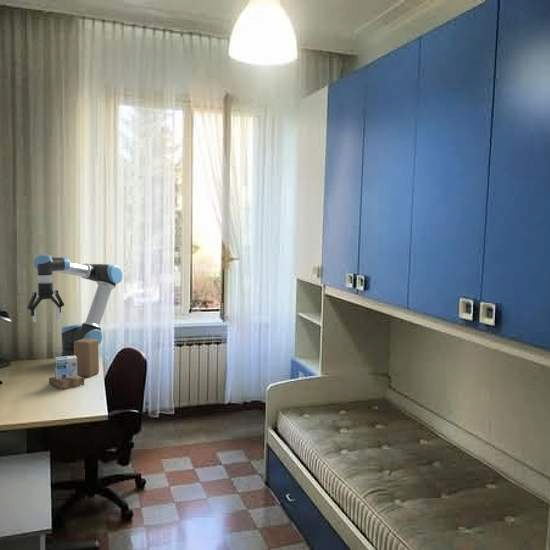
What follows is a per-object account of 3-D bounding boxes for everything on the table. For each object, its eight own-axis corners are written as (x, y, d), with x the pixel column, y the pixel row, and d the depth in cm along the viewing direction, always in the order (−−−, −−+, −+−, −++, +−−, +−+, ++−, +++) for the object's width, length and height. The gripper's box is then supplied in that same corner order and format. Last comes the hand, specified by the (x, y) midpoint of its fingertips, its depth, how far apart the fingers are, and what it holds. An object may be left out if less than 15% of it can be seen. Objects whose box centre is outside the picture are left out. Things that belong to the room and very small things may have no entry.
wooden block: (73, 376, 319) (72, 341, 317) (84, 371, 329) (83, 337, 327) (89, 377, 316) (88, 342, 314) (99, 373, 326) (98, 339, 324)
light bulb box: (56, 380, 296) (56, 359, 295) (55, 377, 302) (54, 357, 301) (78, 377, 301) (77, 357, 300) (76, 374, 306) (75, 355, 306)
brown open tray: (72, 380, 311) (72, 372, 310) (84, 384, 302) (84, 377, 301) (49, 385, 301) (49, 377, 301) (61, 390, 292) (60, 382, 292)
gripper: (63, 280, 327) (64, 316, 329) (19, 283, 309) (21, 322, 311) (69, 281, 322) (70, 318, 324) (25, 284, 304) (27, 323, 306)
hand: (46, 320), depth 317 cm, fingers open, 13 cm apart
